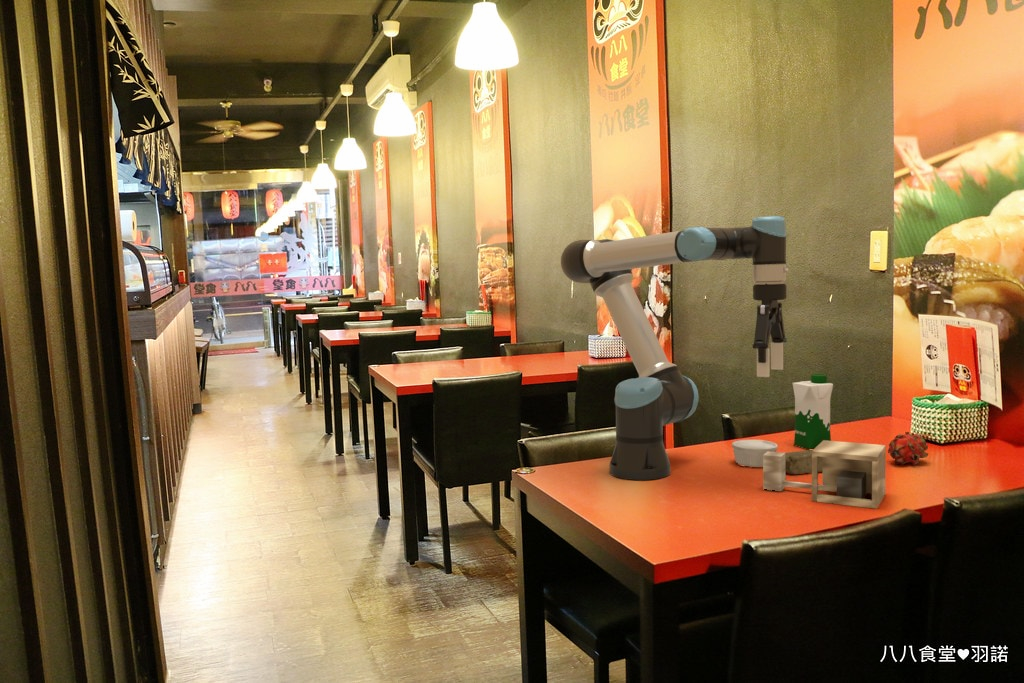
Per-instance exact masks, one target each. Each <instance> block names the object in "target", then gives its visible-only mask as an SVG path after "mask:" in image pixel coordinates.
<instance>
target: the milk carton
mask: <svg viewBox="0 0 1024 683" xmlns="http://www.w3.org/2000/svg"><path fill="white" fill-rule="evenodd" d="M791 383H792V384H791V385H792V388H793V394H794V441H793V442H794V443H793V445H794V446H795V445H797V446H796V447H798V446H800V447H799V448H801V447H803V448H802V449H804V448H806V449H805V450H807V449H815V448H816V447H817V446H818V445H819V444H820V443H821V442H822V441H823V440H827V441H832V438H831V437H832V435H831V397H832V392H833V389H834V384H833V383H831V382H828V381H827V374H821V373H820V374H818V373H816V374H814V373H813V374H811V375H810V380H805V381H798V382H791Z"/></svg>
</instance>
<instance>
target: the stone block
mask: <svg viewBox="0 0 1024 683" xmlns="http://www.w3.org/2000/svg"><path fill="white" fill-rule="evenodd" d="M812 451H813V450H798V451H790V452H789V451H788V452H784V453H785V474H791V475H795V474H796V475H804V474H803V473H808V474H812ZM822 471H823V457H820V456H818V473H822Z"/></svg>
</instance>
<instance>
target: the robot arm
mask: <svg viewBox="0 0 1024 683" xmlns="http://www.w3.org/2000/svg"><path fill="white" fill-rule="evenodd" d="M786 229H787V228H786V220H785V218H784V217H783V216H776V215H773V216H759V217H754V218H753V219H752V221H751V226H746V227H743V226H742V227H703V226H694V227H689V228H686V229H684V230H677V231H671V232H664V233H657V234H650V235H644V236H638V237H631V238H630V237H629V238H624V239H620V240H619V239H618V240H613V239H608V238H605V239H604V238H603V239H577V240H574V241H573V242H570V243H569V244H568V245H567V246H566V247H565V248H564V250H562V253H561V256H560V266H561V270H562V272H563V273H564V275H565V276H566V278H568V279H569V280H571V281H572V282H575V283H579V284H589V285H590V286H591V288H592V289H591V290H592V291H593V293H594V295H595V296H597V297H600V298H602V300H603V302H604V304H605V306H606V308H607V310H608V313H609V314H610V316H611V318H612V321H613V323H614V325H615V328H616V329H617V331H618V334H619V335H620V338H621V340H622V341H623V342H622V343H623V344H624V346H625V348H626V350H627V351H626V352H627V353H628V355H629V357H630V358H631V361H632V363H633V365H634V367H635V369H636V371H637V374H638V377H636V378H628V379H626V380H622V381H621V382H619V383H618V384H617V385H616V387H615V393H614V399H613V400H614V407H615V408H614V409H615V412H614V413H615V415H614V416H615V445H614V449H613V452H612V456H611V459H610V462H609V473H610V475H612V476H613V477H616V478H620V479H624V480H625V479H626V480H636V481H639V480H641V481H647V480H648V481H649V480H650V481H651V480H658V479H662V478H665V477H668V476H669V475H670V474H671V462H670V459H669V457H668V453H667V451H666V447H665V444H664V439H663V438H664V436H663V435H664V433H663V432H664V431H663V430H664V428H663V427H664V426H667V425H671V424H675V423H680V422H683V421H684V420H685V419H688V418H690V417H691V416H692V415H693V414H694V413H695V412H696V410H697V407H698V404H699V401H700V400H699V399H700V398H699V397H700V396H699V390H698V388H697V385H696V384H695V382H694V381H693V380H692V379H691V378H689V377H687V376H685V375H682V373H681V371H680V368H679V367H678V365H677V364H675V363H672V362H671V361H669V360H668V357H667V355H666V353H665V351H664V349H663V347H662V345H661V343H660V341H659V339H658V337H657V334H656V333H655V332H656V331H654V327H653V326H652V325H651V322H650V321H649V318H648V316H647V314H646V312H645V310H644V307H643V306H642V303H641V301H640V299H639V298H638V297H639V296H637V294H636V291H635V289H634V287H633V285H632V282H633V280H634V277H635V276H634V273H633V270H635V269H642V268H643V269H644V268H649V267H656V266H657V267H659V266H666V265H673V264H681V263H691V262H692V263H693V262H700V261H710V260H712V261H715V260H716V261H727V260H741V259H743V260H744V259H751V260H752V282H754V284H753V285H752V299H753V300H754V301H760V302H761V303H760V304H758V305H757V306H756V309H757V310H756V321H755V329H754V330H755V331H754V340H753V344H752V349H756V377H757V378H770V377H771V376H770V371H771V370H779V371H783V370H784V343H787V341H788V340H787V337H786V333H785V326H784V325H785V324H784V319H783V318H784V317H783V304H782V302H781V301H782V300H786V299H787V298H788V297H787V285H786V283H784V282H786V281H787V273H789V271H790V270H789V268H788V267H787V252H786V251H787V236H788V235H787V231H786ZM779 301H780V302H779ZM770 337H771V341H772V342H770ZM769 342H770V348H769Z"/></svg>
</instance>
